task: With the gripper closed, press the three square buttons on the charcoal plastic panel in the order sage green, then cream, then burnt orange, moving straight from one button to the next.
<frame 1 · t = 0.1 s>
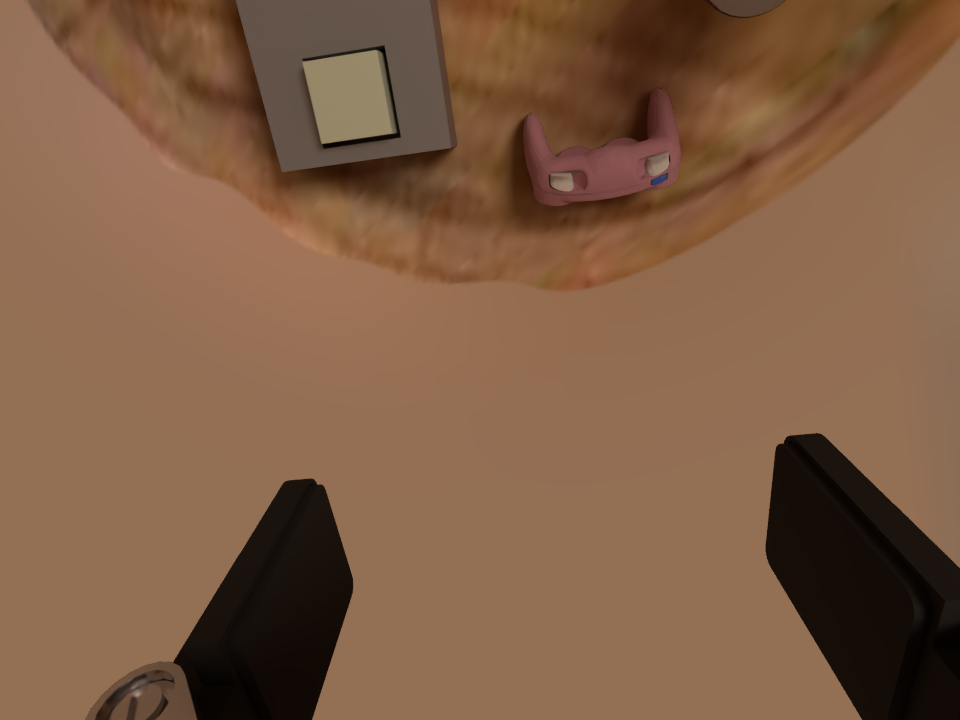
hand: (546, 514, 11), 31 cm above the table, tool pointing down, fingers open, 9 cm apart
video game controller: (594, 146, 37), on the table
button sage: (354, 99, 33), point 4 cm above the table, slide at 0.0 cm
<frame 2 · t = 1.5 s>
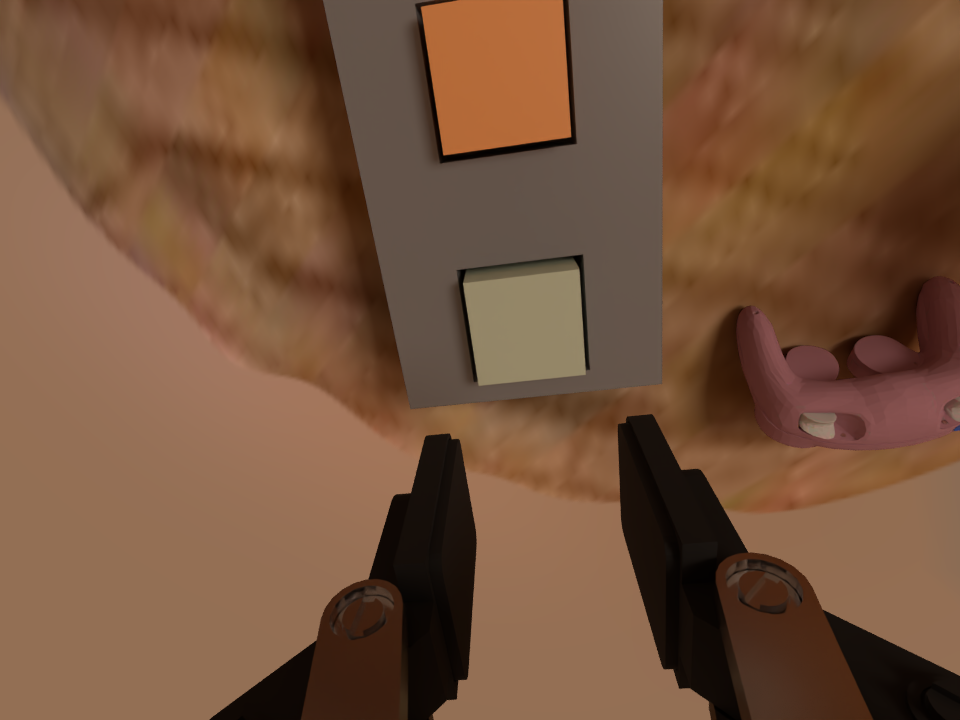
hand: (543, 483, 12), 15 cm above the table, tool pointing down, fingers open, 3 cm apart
button panel: (500, 85, 22), on the table
button orange: (499, 77, 19), point 4 cm above the table, slide at 0.0 cm
video game controller: (827, 341, 27), on the table
button sage: (525, 317, 22), point 4 cm above the table, slide at 0.0 cm
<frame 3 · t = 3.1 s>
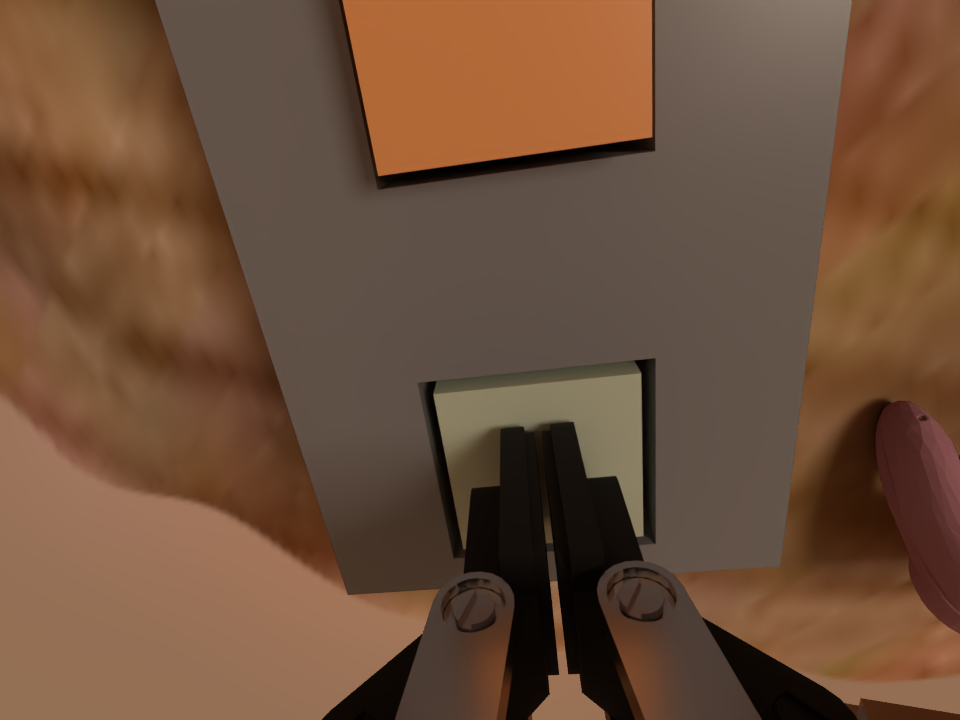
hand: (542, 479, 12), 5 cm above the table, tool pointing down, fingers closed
button panel: (498, 43, 13), on the table
button orange: (496, 13, 9), point 4 cm above the table, slide at 0.0 cm
button sage: (540, 433, 14), point 3 cm above the table, slide at 1.0 cm, touching gripper
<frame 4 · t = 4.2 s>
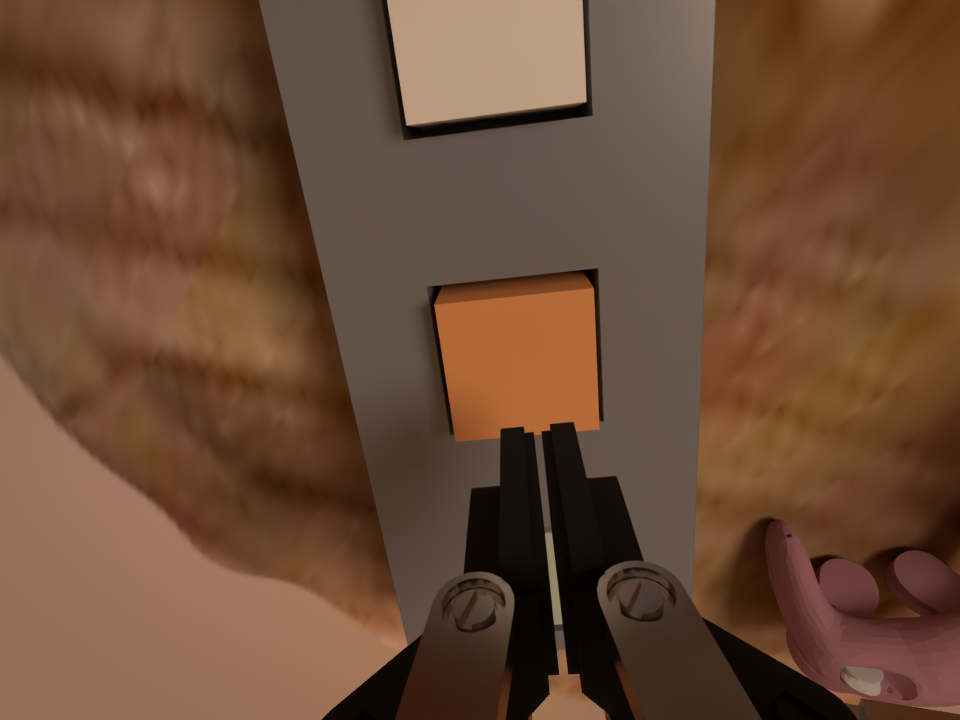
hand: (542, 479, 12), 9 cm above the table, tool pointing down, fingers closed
button cream: (486, 22, 14), point 4 cm above the table, slide at 0.0 cm
button panel: (515, 314, 21), on the table
button orange: (518, 351, 17), point 4 cm above the table, slide at 0.0 cm
video game controller: (862, 548, 25), on the table
button sage: (538, 552, 21), point 3 cm above the table, slide at 1.0 cm
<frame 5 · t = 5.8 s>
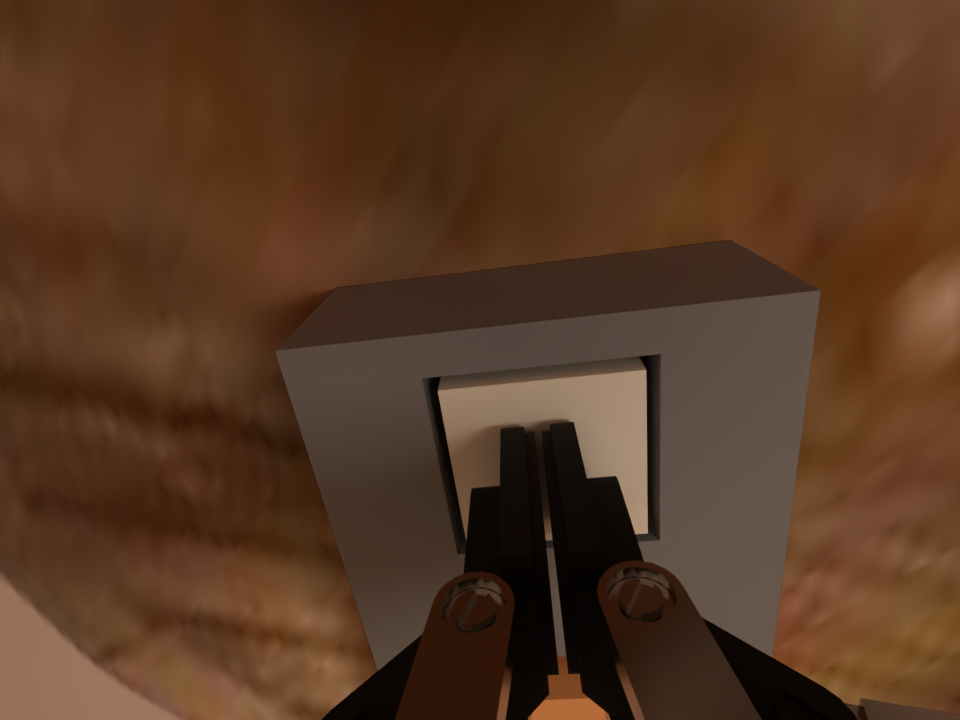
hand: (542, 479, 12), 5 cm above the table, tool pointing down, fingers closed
button cream: (544, 430, 13), point 3 cm above the table, slide at 0.9 cm
button panel: (559, 590, 20), on the table
button orange: (571, 696, 16), point 4 cm above the table, slide at 0.0 cm
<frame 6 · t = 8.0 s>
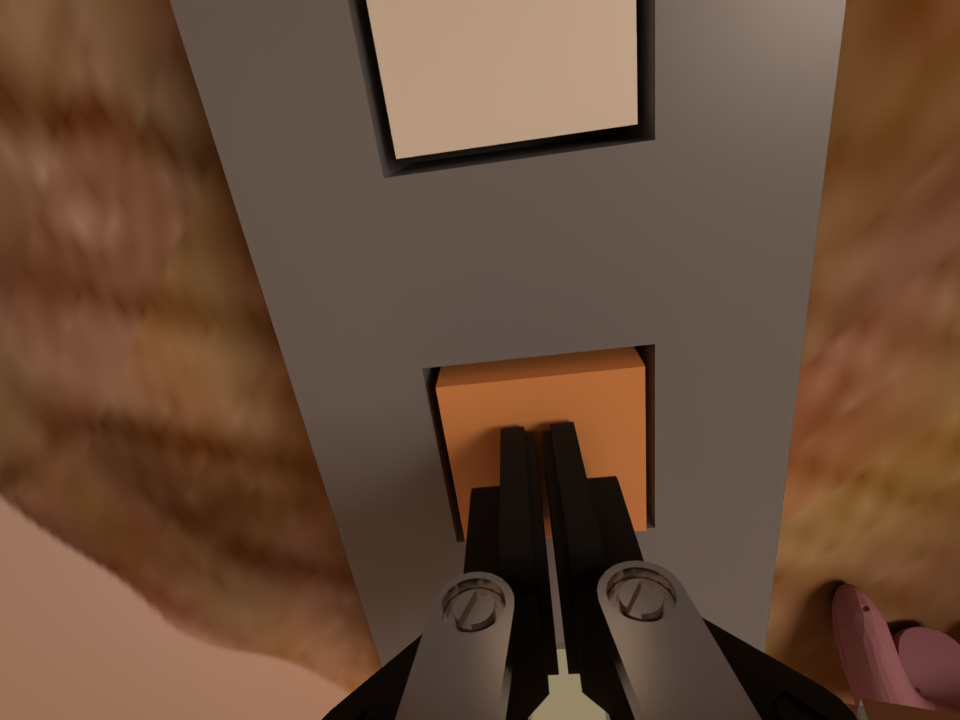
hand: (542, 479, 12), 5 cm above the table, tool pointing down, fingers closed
button cream: (500, 14, 10), point 3 cm above the table, slide at 1.0 cm
button panel: (536, 369, 17), on the table
button orange: (542, 427, 13), point 3 cm above the table, slide at 0.6 cm, touching gripper
video game controller: (948, 612, 20), on the table
button sage: (565, 652, 18), point 3 cm above the table, slide at 1.0 cm
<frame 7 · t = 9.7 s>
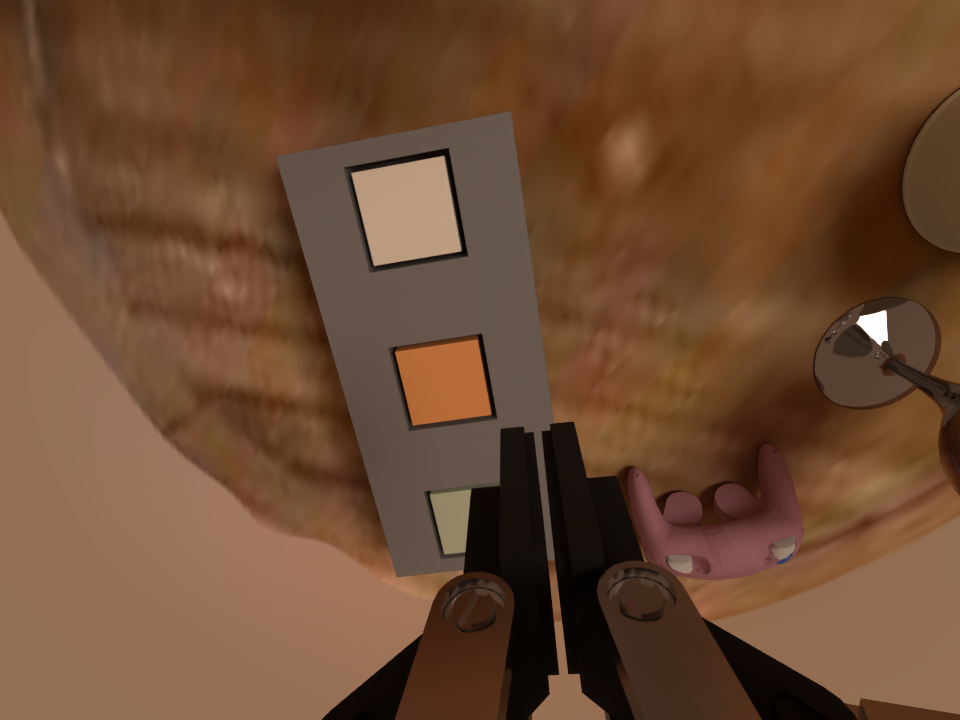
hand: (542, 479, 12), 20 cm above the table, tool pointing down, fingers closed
wine glass: (874, 354, 32), on the table
button cream: (412, 209, 27), point 3 cm above the table, slide at 1.0 cm
button panel: (451, 354, 33), on the table
button orange: (446, 373, 30), point 3 cm above the table, slide at 1.0 cm
video game controller: (699, 485, 36), on the table
button sage: (474, 505, 33), point 3 cm above the table, slide at 1.0 cm
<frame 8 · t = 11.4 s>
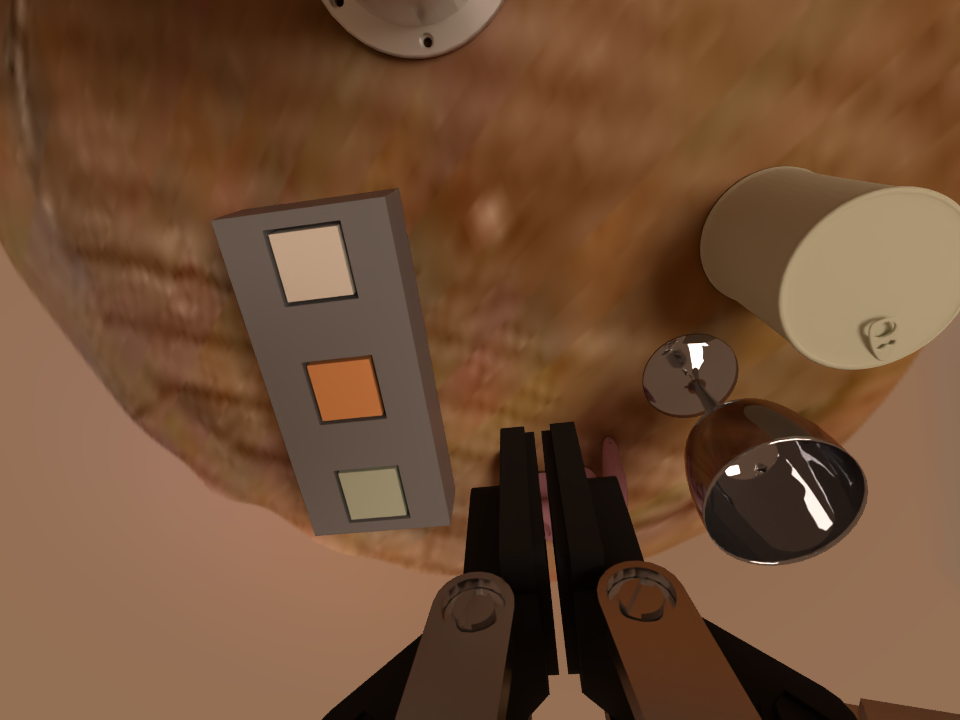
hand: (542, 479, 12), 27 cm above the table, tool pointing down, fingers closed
wine glass: (689, 376, 41), on the table
button cream: (319, 259, 35), point 3 cm above the table, slide at 1.0 cm
button panel: (360, 364, 41), on the table
can: (767, 237, 36), on the table
button orange: (350, 381, 39), point 3 cm above the table, slide at 1.0 cm
video game controller: (560, 467, 45), on the table
button sage: (377, 482, 42), point 3 cm above the table, slide at 1.0 cm
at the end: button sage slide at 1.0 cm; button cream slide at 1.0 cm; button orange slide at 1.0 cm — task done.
